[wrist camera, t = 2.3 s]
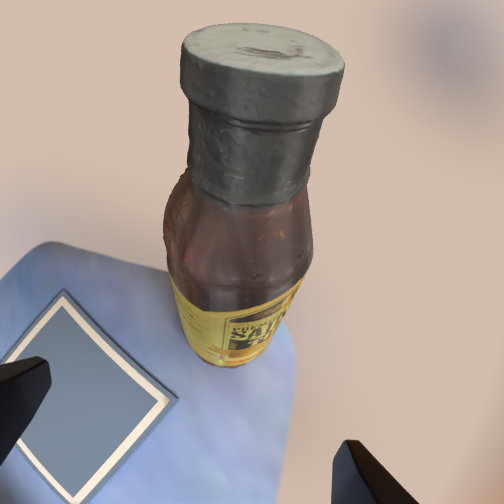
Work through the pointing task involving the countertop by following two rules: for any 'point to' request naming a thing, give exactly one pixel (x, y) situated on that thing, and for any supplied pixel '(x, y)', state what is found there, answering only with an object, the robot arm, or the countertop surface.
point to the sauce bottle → (245, 182)
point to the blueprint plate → (85, 403)
